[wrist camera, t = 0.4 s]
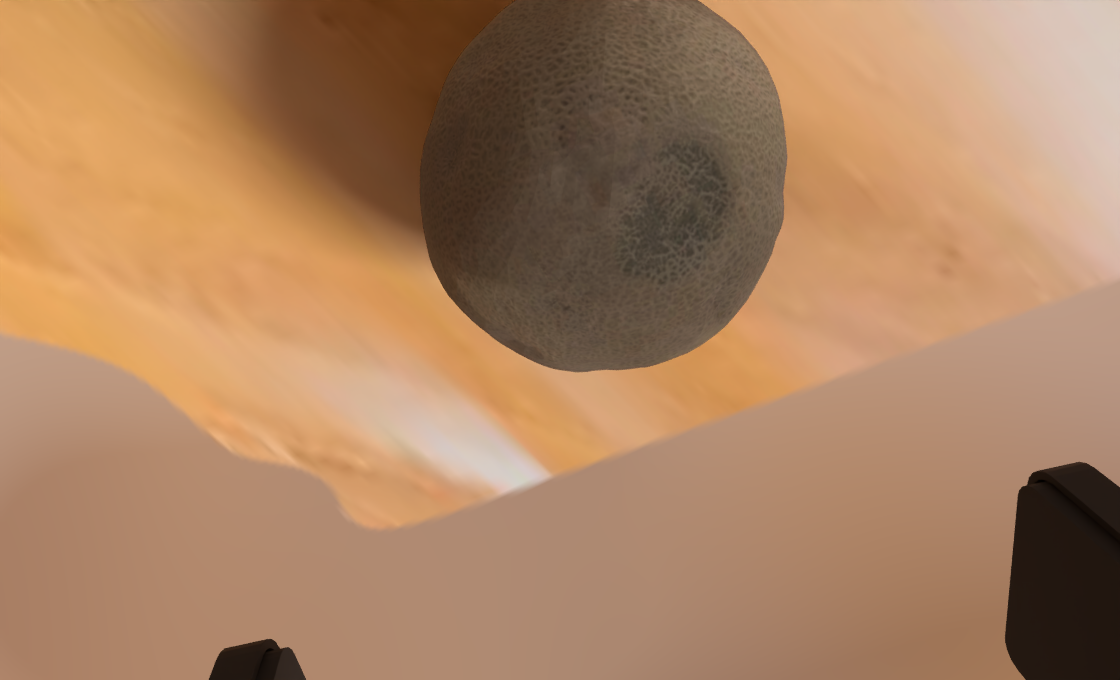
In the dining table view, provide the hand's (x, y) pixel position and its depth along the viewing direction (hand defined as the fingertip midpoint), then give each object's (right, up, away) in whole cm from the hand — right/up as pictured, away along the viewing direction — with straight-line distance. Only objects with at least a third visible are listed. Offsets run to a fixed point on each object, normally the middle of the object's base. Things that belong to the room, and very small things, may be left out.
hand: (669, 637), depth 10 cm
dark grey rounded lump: (-1, +13, +27) cm, 30 cm away
